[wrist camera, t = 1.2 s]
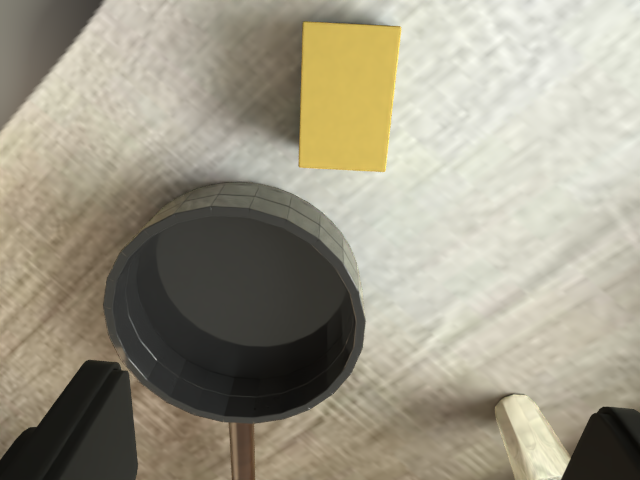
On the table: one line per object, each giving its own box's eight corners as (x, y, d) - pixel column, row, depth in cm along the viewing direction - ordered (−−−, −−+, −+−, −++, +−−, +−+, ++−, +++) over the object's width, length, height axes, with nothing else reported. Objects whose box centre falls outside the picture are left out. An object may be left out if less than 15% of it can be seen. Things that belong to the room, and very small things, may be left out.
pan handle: (231, 400, 34) (226, 419, 32) (255, 401, 34) (251, 420, 32) (235, 484, 38) (230, 505, 36) (256, 485, 38) (253, 506, 36)
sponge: (307, 21, 25) (302, 21, 21) (390, 26, 25) (401, 26, 21) (303, 147, 28) (298, 167, 24) (377, 151, 28) (385, 172, 24)
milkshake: (467, 404, 37) (511, 528, 28) (531, 378, 35) (600, 500, 26) (488, 440, 38) (537, 568, 29) (551, 416, 37) (622, 543, 28)
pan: (117, 174, 29) (82, 199, 25) (370, 188, 29) (377, 215, 25) (146, 372, 36) (122, 417, 32) (351, 383, 36) (353, 429, 32)
